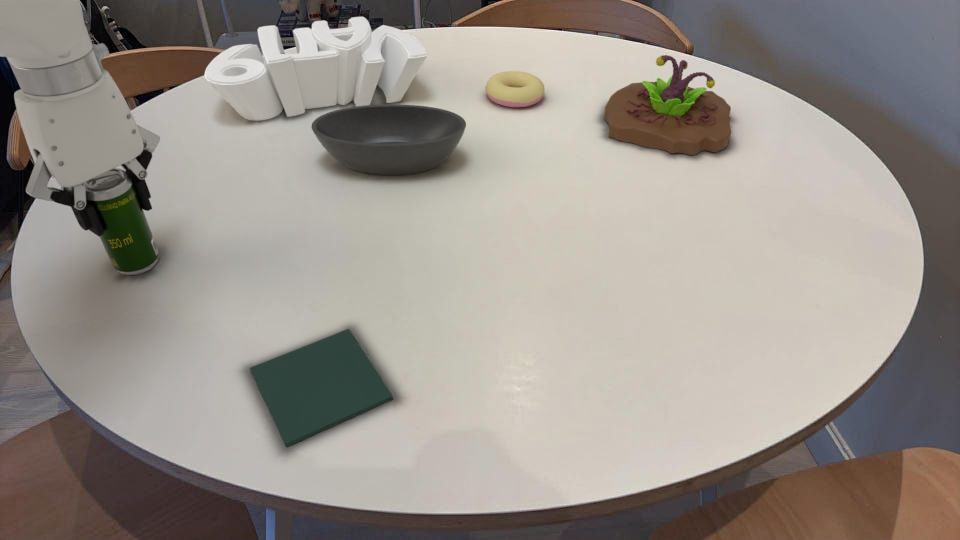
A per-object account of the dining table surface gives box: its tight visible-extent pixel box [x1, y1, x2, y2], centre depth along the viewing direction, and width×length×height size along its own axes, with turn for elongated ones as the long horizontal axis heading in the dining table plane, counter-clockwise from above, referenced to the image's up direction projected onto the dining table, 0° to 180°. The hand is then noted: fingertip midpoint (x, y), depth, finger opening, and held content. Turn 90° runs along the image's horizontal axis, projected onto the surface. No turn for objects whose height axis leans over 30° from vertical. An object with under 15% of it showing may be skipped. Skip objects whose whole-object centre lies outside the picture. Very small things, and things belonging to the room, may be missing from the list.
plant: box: [603, 54, 732, 156], centre depth 109 cm, size 20×20×11 cm
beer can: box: [85, 167, 160, 276], centre depth 82 cm, size 5×5×12 cm
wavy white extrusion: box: [203, 16, 428, 122], centre depth 116 cm, size 35×16×11 cm, turn 103°
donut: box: [485, 70, 546, 108], centre depth 118 cm, size 10×5×9 cm
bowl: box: [311, 103, 467, 176], centre depth 102 cm, size 12×22×6 cm, turn 89°
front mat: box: [249, 328, 394, 448], centre depth 71 cm, size 11×11×1 cm
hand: (118, 217), depth 81 cm, fingers closed on beer can, 5 cm apart
